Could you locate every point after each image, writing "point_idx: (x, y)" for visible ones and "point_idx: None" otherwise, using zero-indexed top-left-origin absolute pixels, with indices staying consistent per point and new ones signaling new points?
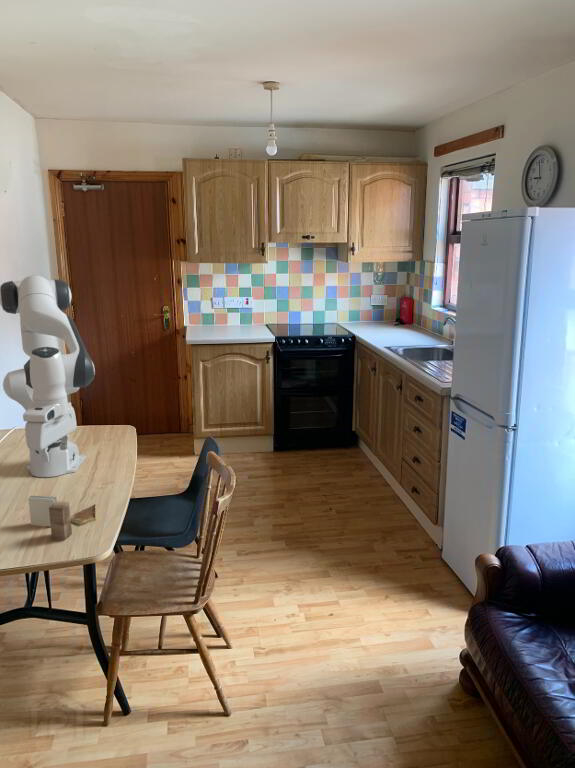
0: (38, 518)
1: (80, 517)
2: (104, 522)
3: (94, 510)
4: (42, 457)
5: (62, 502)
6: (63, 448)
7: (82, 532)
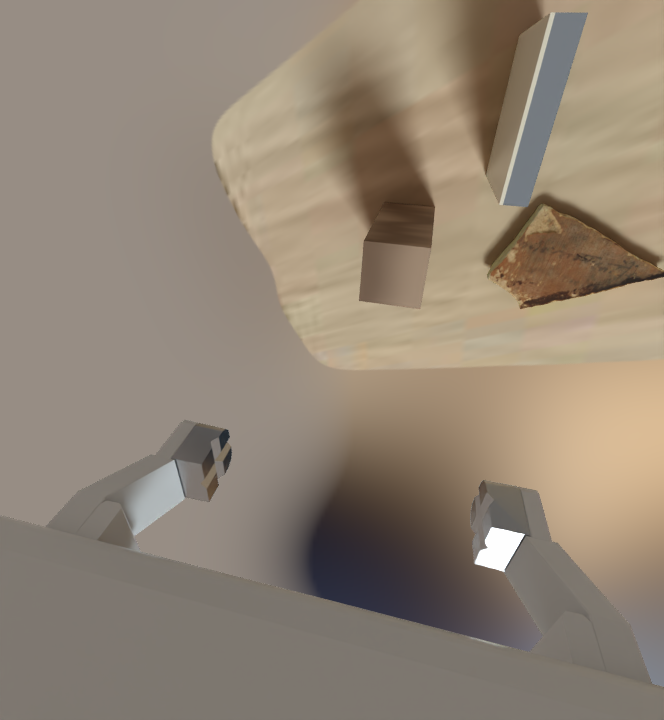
0: (513, 84)
1: (528, 260)
2: (503, 333)
3: (593, 290)
4: (165, 449)
5: (419, 281)
6: (476, 513)
7: (435, 286)
